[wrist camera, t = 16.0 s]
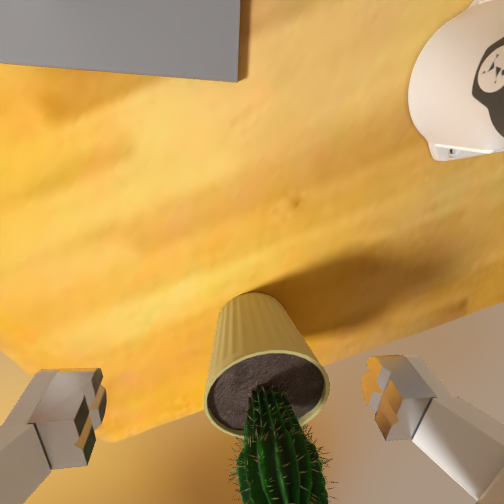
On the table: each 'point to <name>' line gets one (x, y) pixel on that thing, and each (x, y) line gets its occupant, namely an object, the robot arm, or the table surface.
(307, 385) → the potted cactus
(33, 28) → the gray base with shelf
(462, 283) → the table surface
